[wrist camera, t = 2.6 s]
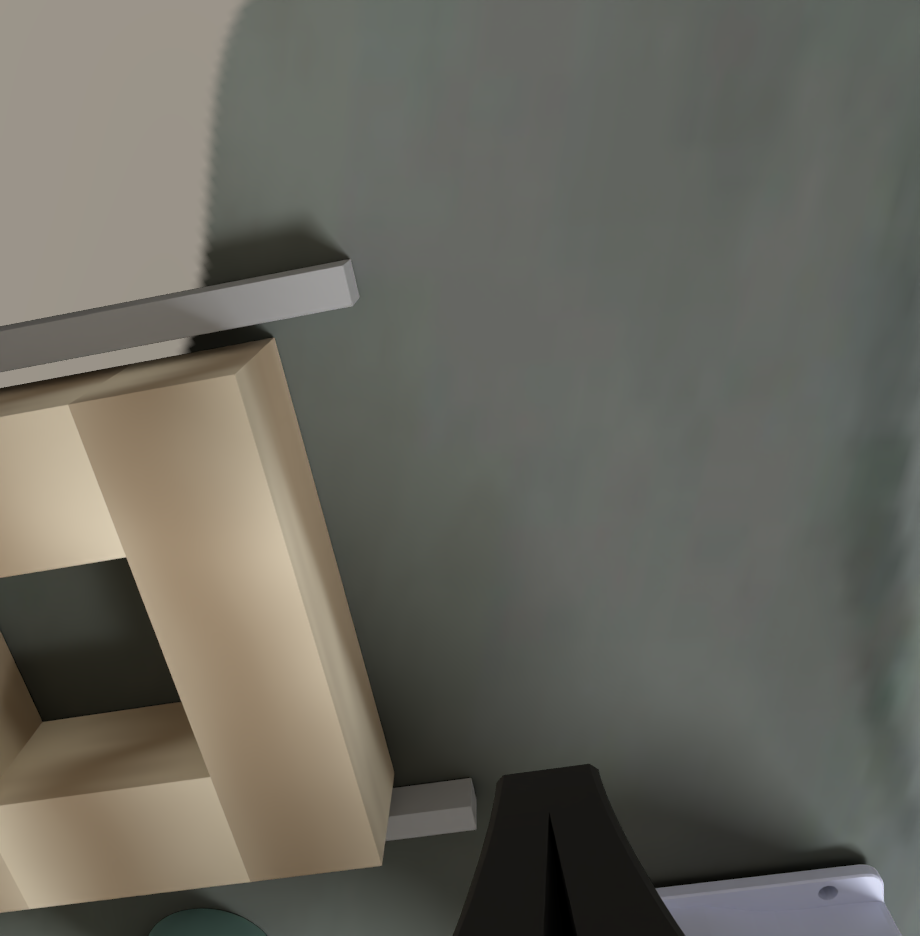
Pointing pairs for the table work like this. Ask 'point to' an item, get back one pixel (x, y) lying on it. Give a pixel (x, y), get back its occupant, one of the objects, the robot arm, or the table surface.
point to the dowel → (205, 924)
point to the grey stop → (212, 312)
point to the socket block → (186, 640)
